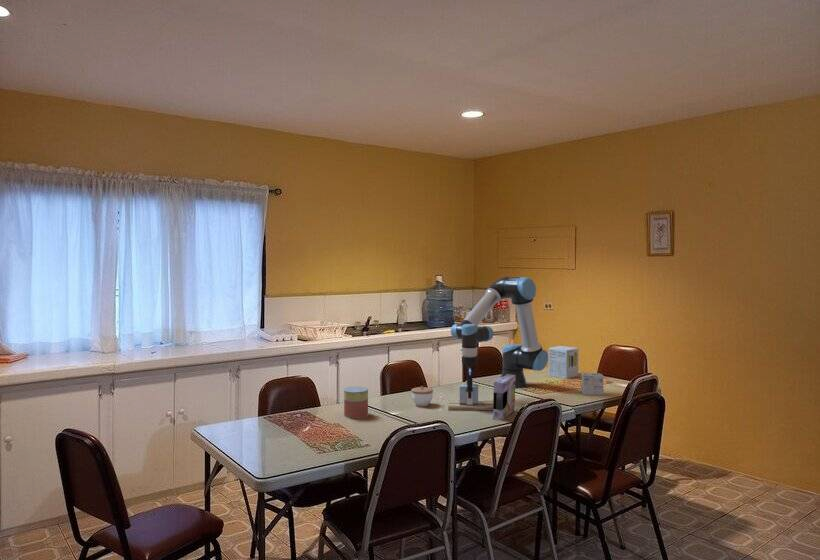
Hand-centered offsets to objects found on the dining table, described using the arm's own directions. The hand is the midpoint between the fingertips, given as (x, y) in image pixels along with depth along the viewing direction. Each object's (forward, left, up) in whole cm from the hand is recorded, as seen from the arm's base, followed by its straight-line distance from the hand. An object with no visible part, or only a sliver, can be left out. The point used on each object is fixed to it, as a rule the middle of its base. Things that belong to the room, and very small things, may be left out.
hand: (469, 402), depth 283 cm
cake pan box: (+14, +15, -2) cm, 21 cm away
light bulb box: (-31, +67, -2) cm, 73 cm away
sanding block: (0, 0, 0) cm, 1 cm away
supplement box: (-78, +61, -2) cm, 99 cm away
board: (0, +3, -2) cm, 3 cm away
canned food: (+17, -53, -2) cm, 56 cm away
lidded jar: (-3, -23, -2) cm, 24 cm away
